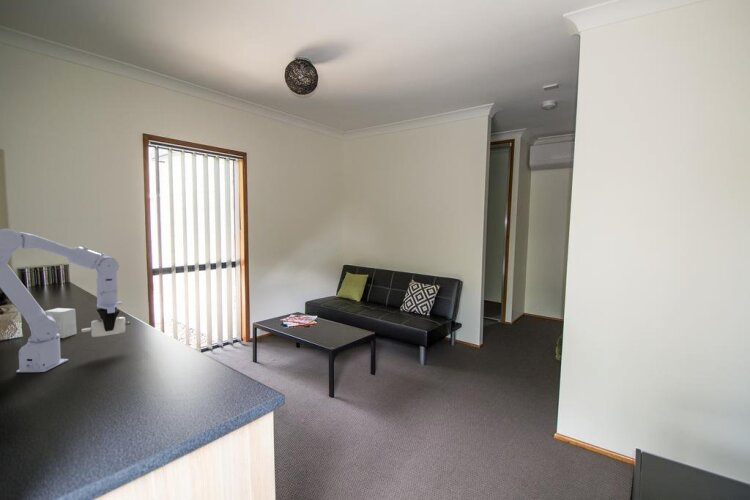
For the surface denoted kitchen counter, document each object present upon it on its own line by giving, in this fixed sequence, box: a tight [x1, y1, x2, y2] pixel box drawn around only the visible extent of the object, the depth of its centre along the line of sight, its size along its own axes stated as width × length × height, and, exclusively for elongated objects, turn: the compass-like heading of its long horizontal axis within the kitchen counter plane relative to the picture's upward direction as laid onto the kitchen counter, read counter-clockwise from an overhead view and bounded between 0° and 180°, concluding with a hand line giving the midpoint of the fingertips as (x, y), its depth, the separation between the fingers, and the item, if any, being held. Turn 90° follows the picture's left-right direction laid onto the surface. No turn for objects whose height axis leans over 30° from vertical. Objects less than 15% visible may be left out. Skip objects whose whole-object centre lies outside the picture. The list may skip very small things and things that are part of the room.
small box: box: [44, 307, 77, 339], centre depth 138 cm, size 8×6×10 cm
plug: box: [81, 316, 131, 338], centre depth 121 cm, size 13×4×5 cm, turn 135°
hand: (108, 329), depth 122 cm, fingers closed on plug, 3 cm apart
